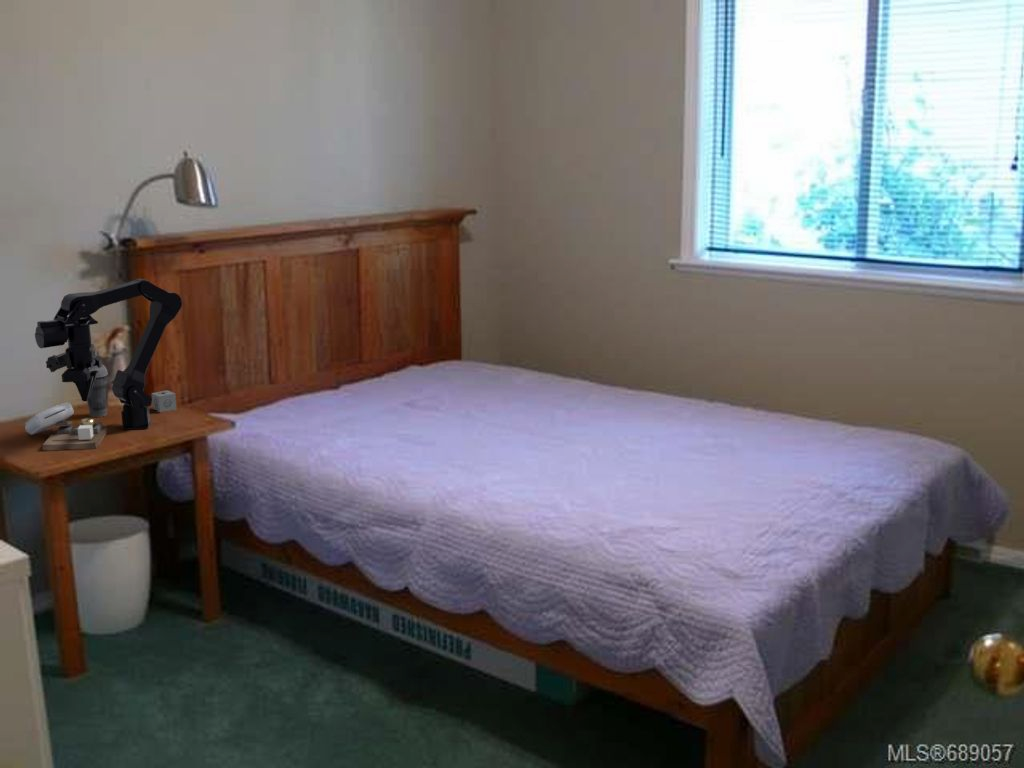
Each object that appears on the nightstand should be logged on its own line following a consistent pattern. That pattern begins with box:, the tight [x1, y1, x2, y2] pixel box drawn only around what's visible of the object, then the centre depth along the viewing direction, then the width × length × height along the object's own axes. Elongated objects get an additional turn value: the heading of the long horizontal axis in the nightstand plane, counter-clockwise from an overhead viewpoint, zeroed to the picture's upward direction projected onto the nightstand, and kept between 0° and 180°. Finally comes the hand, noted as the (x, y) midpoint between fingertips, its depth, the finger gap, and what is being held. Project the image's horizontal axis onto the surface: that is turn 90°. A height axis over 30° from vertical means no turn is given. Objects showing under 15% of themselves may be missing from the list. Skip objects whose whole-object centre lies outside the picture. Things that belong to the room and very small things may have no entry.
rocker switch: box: [56, 420, 73, 427], centre depth 292 cm, size 3×4×1 cm, turn 8°
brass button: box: [80, 417, 95, 427], centre depth 292 cm, size 3×3×2 cm
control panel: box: [41, 421, 108, 451], centre depth 289 cm, size 13×14×3 cm
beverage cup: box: [86, 346, 109, 418], centre depth 311 cm, size 7×7×20 cm
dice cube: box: [150, 390, 177, 413], centre depth 318 cm, size 5×5×5 cm
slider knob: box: [78, 425, 93, 440], centre depth 285 cm, size 3×3×3 cm
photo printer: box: [24, 401, 75, 436], centre depth 293 cm, size 10×4×12 cm
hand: (85, 400), depth 291 cm, fingers closed
